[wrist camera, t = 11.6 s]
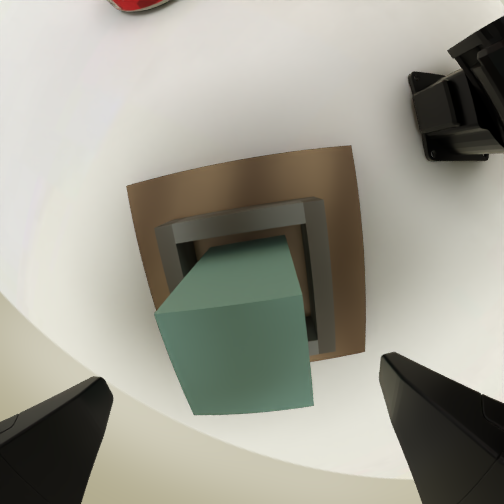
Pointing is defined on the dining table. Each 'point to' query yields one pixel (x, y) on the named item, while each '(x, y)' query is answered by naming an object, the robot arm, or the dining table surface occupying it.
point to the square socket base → (266, 231)
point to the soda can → (136, 4)
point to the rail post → (239, 331)
